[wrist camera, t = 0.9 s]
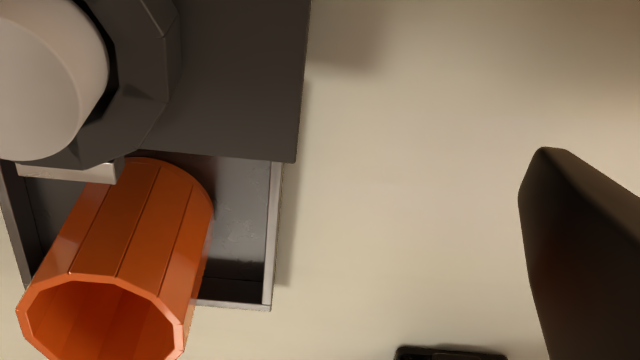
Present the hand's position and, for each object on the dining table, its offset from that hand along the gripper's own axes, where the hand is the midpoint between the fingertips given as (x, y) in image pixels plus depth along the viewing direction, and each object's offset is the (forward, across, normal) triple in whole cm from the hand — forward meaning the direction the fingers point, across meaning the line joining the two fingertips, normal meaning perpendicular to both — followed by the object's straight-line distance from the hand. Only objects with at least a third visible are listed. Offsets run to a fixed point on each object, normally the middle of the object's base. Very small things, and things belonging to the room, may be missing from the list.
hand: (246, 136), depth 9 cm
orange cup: (+13, +5, +13) cm, 20 cm away
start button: (+5, +6, +2) cm, 8 cm away
